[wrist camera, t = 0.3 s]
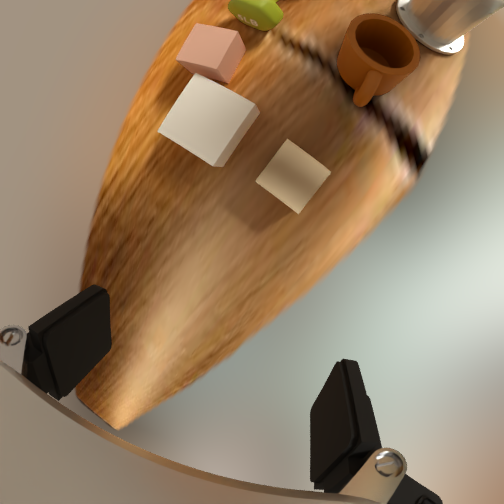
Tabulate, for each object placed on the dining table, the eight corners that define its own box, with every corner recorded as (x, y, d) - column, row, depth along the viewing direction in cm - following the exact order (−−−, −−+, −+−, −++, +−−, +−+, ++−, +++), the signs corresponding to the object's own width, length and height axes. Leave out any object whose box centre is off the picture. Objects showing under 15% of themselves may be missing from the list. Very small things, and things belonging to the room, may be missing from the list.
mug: (313, 88, 31) (318, 62, 22) (353, 33, 27) (364, 2, 18) (370, 125, 31) (392, 110, 22) (405, 68, 27) (429, 44, 18)
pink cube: (209, 41, 30) (196, 23, 24) (246, 50, 30) (238, 31, 24) (191, 73, 32) (175, 59, 26) (228, 83, 32) (216, 69, 26)
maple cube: (288, 144, 33) (287, 138, 28) (325, 172, 34) (331, 171, 28) (261, 180, 35) (255, 181, 29) (297, 207, 35) (298, 214, 30)
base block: (207, 83, 32) (195, 72, 28) (260, 113, 33) (255, 104, 28) (173, 135, 35) (157, 131, 30) (223, 167, 36) (212, 166, 31)
